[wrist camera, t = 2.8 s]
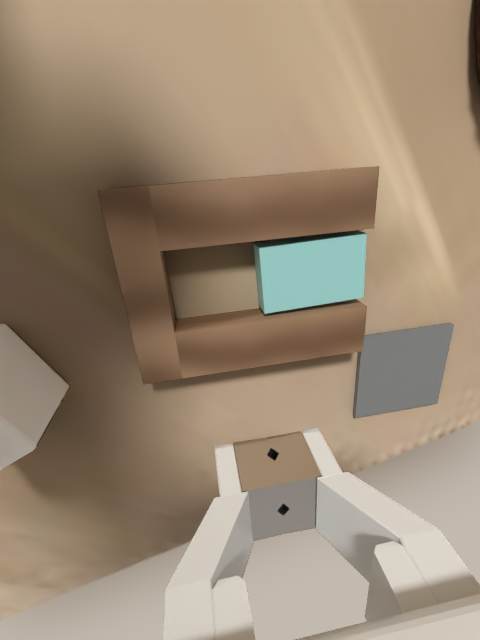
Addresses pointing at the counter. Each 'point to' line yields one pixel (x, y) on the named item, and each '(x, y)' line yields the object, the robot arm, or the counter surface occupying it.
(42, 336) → the counter surface
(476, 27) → the pastry
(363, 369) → the slate mat
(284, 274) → the block
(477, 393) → the counter surface
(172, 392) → the counter surface
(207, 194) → the channel board
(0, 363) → the white black angular body
